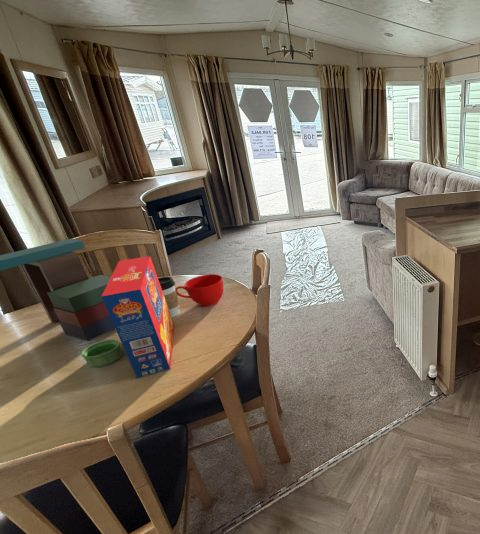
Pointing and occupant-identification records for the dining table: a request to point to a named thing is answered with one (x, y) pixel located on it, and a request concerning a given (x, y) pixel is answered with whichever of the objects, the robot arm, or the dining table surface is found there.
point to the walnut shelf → (54, 277)
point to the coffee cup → (170, 295)
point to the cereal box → (140, 315)
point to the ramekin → (102, 352)
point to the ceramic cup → (204, 289)
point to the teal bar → (39, 253)
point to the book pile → (83, 308)
